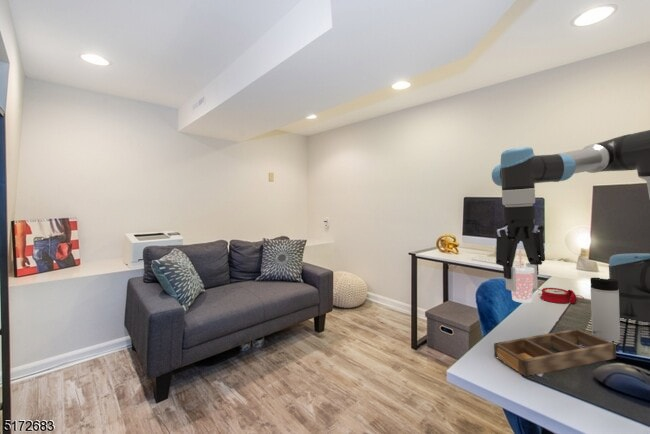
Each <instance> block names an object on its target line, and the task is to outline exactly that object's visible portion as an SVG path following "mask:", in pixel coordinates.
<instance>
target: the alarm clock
mask: <svg viewBox="0 0 650 434" xmlns="http://www.w3.org/2000/svg"><path fill="white" fill-rule="evenodd" d="M537 291H541V293H538V295H540V297H539V299H541V300H543V301H545V302H547V303H548V302H549V303H553V304H554V303H555V304H569V303H570V304H571V305H575V304H576V303H577V301H578V300H581V301H582V300H584V299H585V297H584V296H582V295H578V294H575V292H574V291H573V290H572V289H567V290H566V289H562V288H557V287H544V288H542V289H539V288H537ZM577 297H581V298H577Z"/></svg>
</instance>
